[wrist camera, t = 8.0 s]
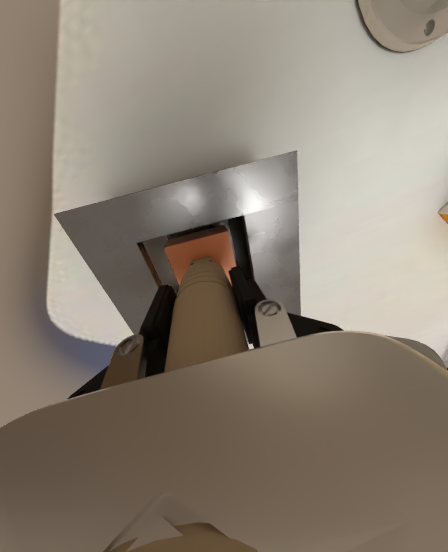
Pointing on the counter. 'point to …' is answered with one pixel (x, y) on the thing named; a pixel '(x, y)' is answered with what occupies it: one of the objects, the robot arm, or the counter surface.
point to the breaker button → (200, 250)
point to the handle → (191, 350)
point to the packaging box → (444, 212)
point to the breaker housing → (189, 219)
